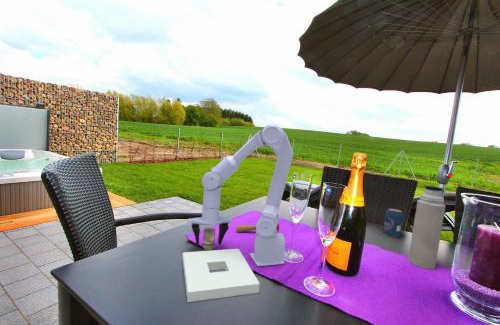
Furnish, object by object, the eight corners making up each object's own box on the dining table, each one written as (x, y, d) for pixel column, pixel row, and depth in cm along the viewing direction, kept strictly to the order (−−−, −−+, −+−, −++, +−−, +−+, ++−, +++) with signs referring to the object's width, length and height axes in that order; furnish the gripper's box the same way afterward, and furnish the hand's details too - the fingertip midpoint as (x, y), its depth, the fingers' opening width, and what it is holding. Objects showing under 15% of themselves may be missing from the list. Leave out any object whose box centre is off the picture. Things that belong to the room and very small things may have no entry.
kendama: (237, 239, 99) (281, 235, 100) (236, 223, 99) (280, 220, 100) (237, 235, 107) (278, 232, 108) (236, 220, 107) (277, 217, 108)
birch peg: (213, 246, 88) (214, 227, 87) (215, 251, 84) (216, 232, 83) (201, 247, 86) (202, 228, 86) (203, 252, 83) (204, 232, 82)
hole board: (237, 255, 82) (238, 248, 82) (258, 292, 64) (259, 283, 63) (182, 260, 77) (182, 252, 76) (187, 302, 58) (188, 292, 58)
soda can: (379, 232, 117) (383, 207, 116) (391, 231, 119) (395, 207, 118) (391, 238, 111) (394, 212, 110) (403, 237, 112) (407, 212, 111)
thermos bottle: (410, 255, 94) (421, 183, 91) (436, 264, 88) (449, 188, 86) (406, 262, 88) (418, 185, 85) (433, 271, 83) (447, 190, 80)
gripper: (229, 203, 90) (226, 238, 91) (188, 203, 85) (186, 240, 86) (234, 208, 83) (231, 247, 84) (190, 209, 78) (187, 250, 80)
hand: (208, 244), depth 85 cm, fingers open, 7 cm apart
